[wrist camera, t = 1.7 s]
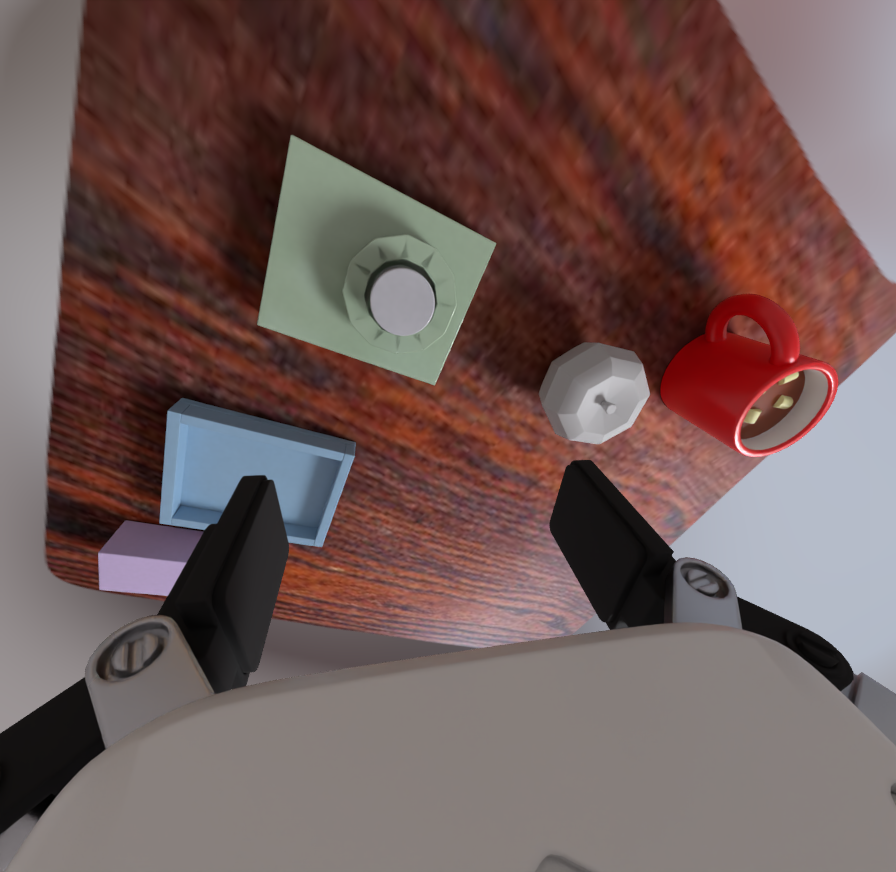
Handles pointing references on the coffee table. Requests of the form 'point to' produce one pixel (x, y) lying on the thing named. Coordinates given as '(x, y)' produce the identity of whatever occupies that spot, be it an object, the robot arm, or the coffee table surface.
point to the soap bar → (145, 557)
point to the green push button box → (363, 264)
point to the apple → (594, 392)
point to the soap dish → (250, 468)
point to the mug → (749, 381)
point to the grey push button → (402, 300)
